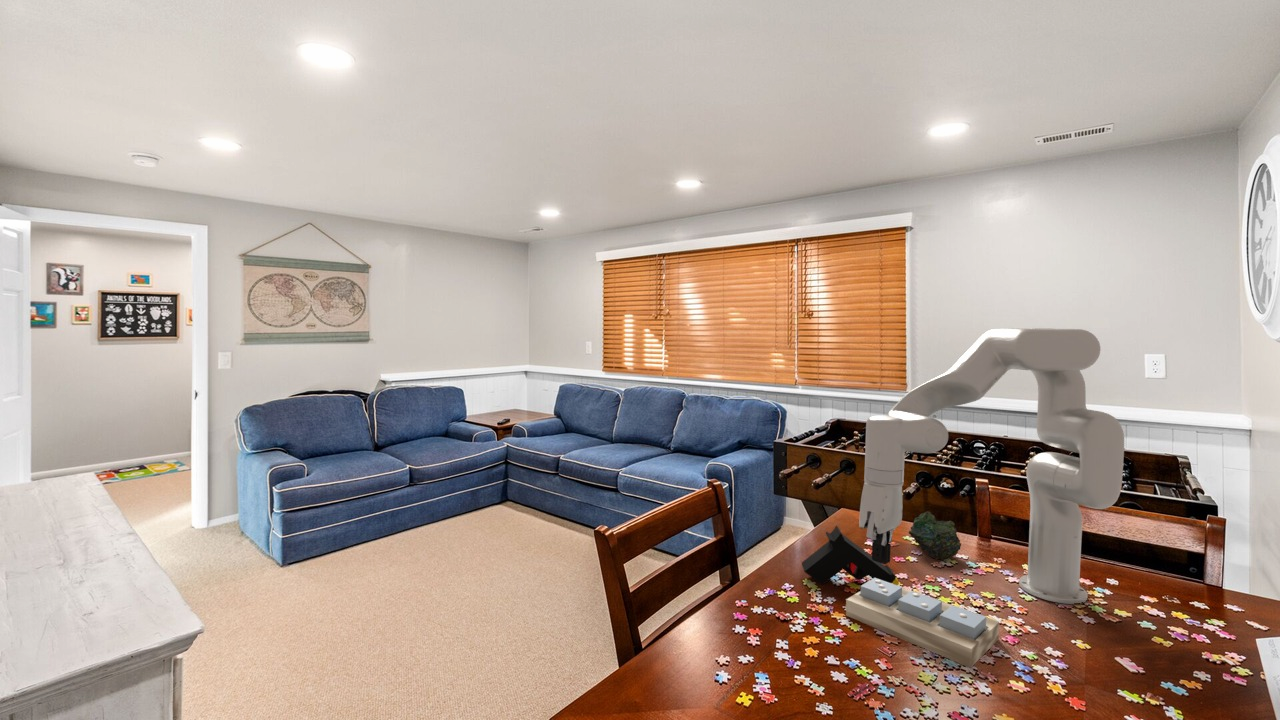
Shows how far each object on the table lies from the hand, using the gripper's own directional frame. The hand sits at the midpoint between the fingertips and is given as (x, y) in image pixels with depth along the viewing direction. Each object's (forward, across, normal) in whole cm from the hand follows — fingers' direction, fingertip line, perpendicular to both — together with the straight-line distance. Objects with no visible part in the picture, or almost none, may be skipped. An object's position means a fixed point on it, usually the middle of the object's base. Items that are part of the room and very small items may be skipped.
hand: (880, 561), depth 121 cm
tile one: (+8, 0, +16) cm, 18 cm away
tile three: (+8, 0, 0) cm, 8 cm away
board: (+11, 0, +8) cm, 14 cm away
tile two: (+8, 0, +8) cm, 11 cm away
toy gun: (+11, -8, -12) cm, 18 cm away
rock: (+11, -40, -7) cm, 42 cm away
